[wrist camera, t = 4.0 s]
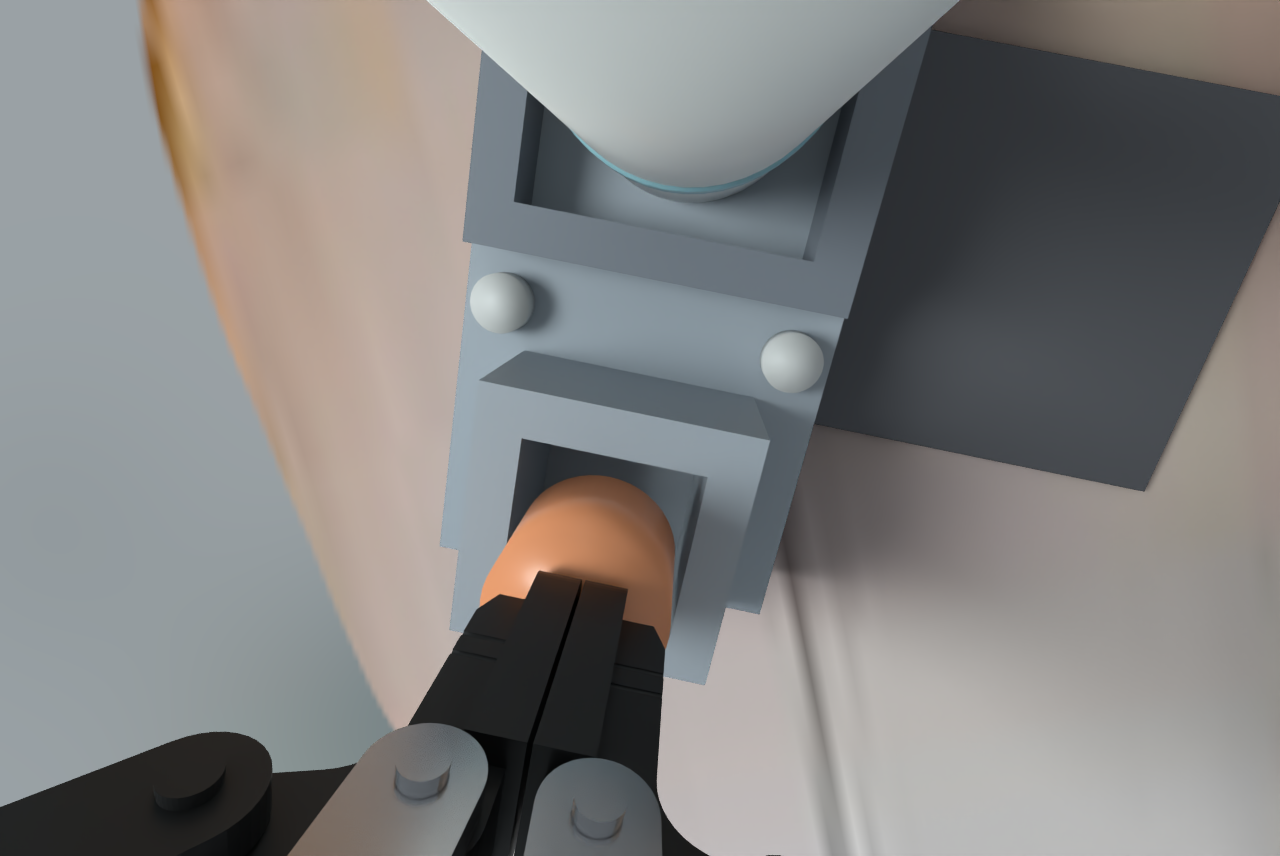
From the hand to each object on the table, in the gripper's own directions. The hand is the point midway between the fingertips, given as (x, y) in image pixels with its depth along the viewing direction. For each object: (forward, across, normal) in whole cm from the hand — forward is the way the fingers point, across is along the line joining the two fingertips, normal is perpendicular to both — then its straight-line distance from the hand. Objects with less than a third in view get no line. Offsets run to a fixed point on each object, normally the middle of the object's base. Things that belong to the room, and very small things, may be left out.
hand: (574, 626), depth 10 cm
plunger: (+3, 0, 0) cm, 3 cm away
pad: (+9, -10, -7) cm, 15 cm away
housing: (+9, 0, -6) cm, 10 cm away
